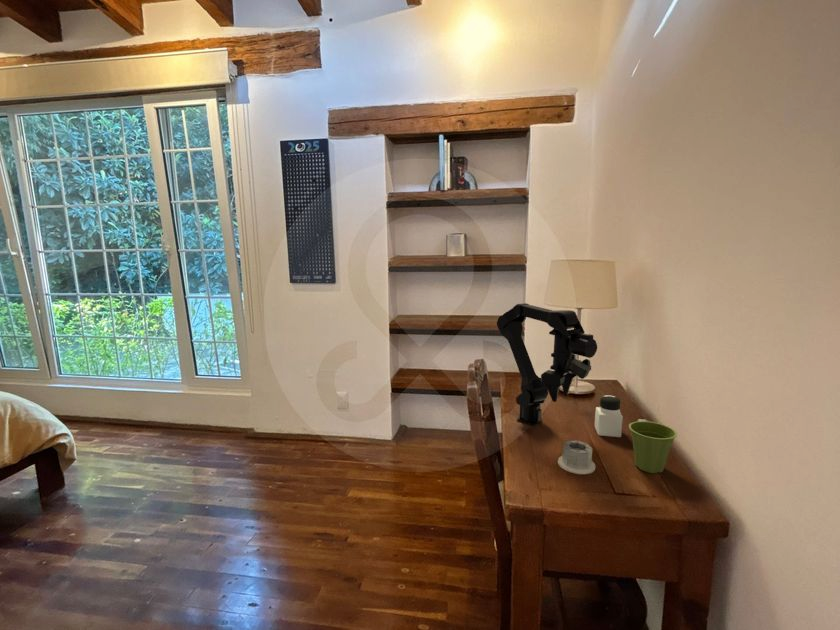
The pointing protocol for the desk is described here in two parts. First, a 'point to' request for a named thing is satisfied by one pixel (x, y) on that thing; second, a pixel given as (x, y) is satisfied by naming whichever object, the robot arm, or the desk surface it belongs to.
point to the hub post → (585, 471)
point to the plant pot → (651, 444)
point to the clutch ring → (577, 455)
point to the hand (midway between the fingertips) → (560, 397)
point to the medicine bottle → (609, 417)
